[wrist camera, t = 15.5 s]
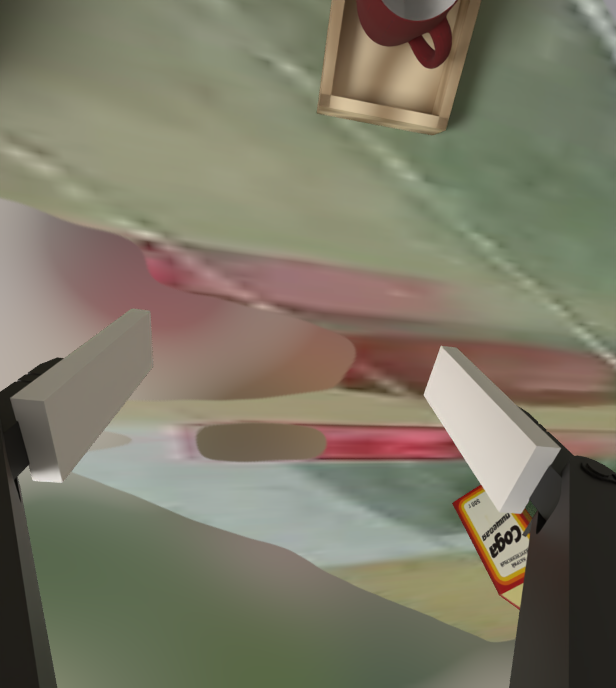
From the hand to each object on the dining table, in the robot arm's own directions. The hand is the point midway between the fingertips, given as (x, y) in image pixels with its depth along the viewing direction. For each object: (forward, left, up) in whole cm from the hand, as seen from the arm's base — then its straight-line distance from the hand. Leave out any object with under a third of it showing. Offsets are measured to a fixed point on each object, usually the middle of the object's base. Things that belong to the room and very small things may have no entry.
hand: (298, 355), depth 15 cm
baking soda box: (+41, -40, -29) cm, 64 cm away
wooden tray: (+7, +22, -29) cm, 37 cm away
